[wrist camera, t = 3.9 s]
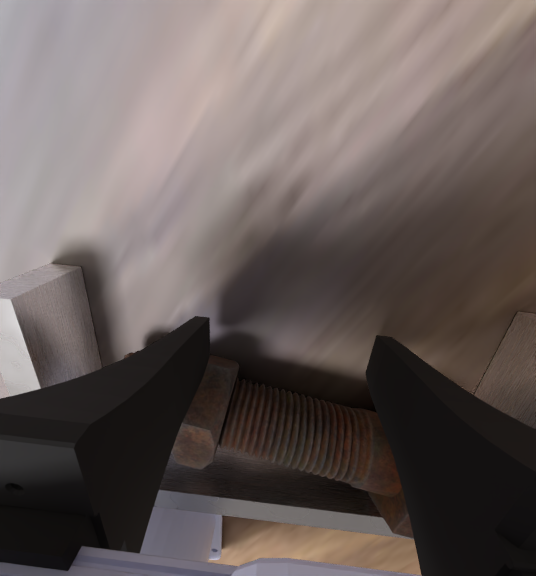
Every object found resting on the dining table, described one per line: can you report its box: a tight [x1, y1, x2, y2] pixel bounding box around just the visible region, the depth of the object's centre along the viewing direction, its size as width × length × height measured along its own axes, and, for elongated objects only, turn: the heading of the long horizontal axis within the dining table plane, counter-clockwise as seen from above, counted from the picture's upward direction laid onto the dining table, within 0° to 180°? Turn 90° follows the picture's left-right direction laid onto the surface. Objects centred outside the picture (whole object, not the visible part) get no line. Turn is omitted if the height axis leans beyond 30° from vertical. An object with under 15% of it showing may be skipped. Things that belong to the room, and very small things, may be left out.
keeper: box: [0, 263, 536, 539], centre depth 13 cm, size 12×23×4 cm, turn 85°
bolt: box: [124, 351, 414, 539], centre depth 13 cm, size 6×5×15 cm
